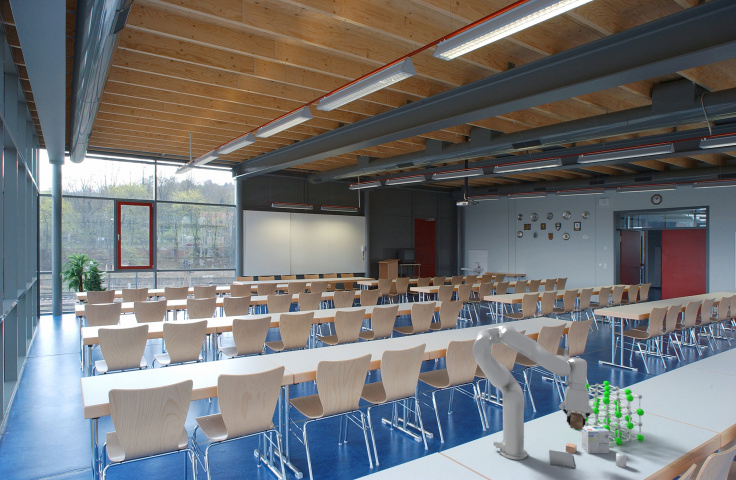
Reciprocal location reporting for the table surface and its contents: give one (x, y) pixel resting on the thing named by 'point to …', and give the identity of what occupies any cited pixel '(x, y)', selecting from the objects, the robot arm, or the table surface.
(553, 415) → the table surface
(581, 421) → the walnut block
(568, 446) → the peach cube
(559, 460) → the mat
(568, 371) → the robot arm
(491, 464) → the table surface
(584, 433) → the light bulb box
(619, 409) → the molecular structure model
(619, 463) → the grey plastic cylinder
